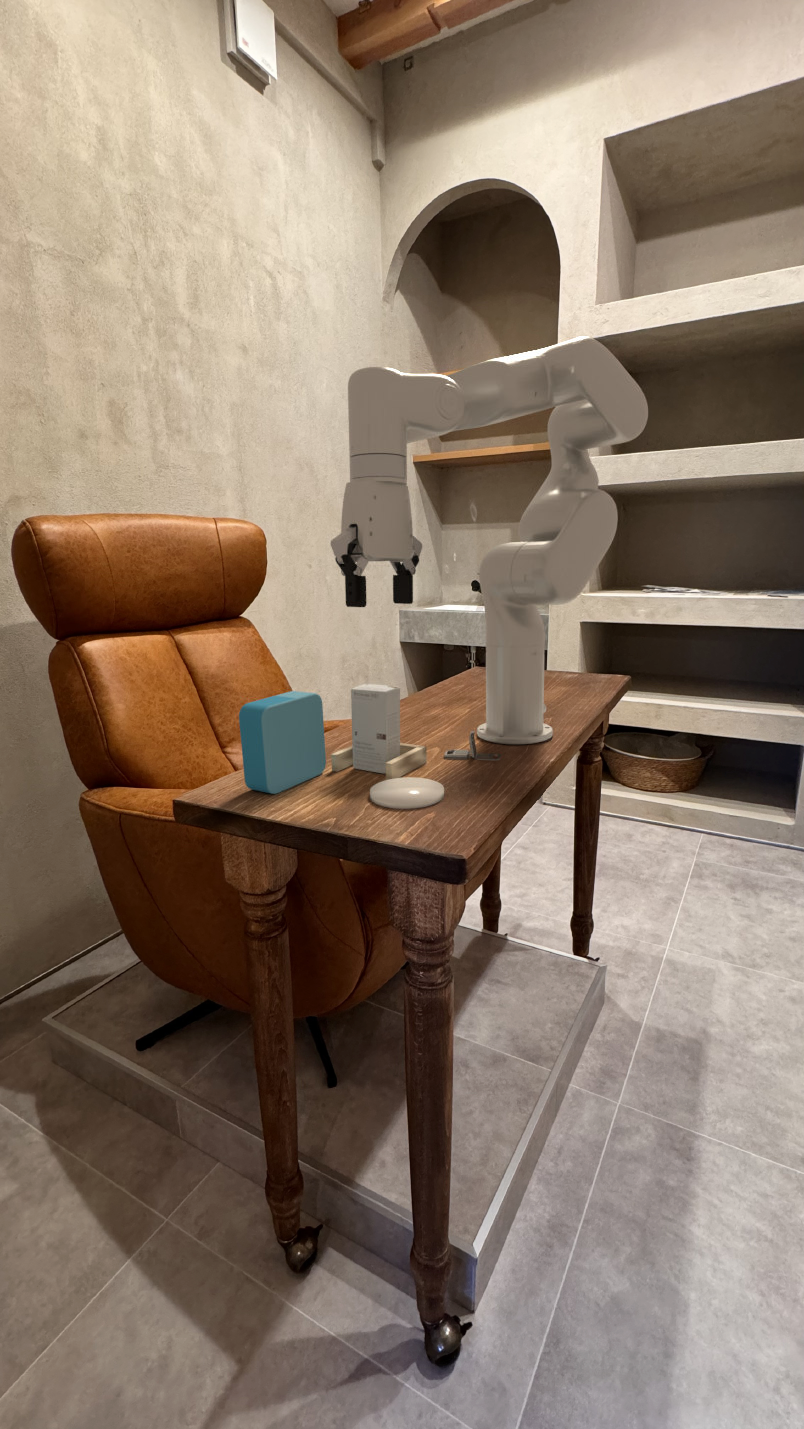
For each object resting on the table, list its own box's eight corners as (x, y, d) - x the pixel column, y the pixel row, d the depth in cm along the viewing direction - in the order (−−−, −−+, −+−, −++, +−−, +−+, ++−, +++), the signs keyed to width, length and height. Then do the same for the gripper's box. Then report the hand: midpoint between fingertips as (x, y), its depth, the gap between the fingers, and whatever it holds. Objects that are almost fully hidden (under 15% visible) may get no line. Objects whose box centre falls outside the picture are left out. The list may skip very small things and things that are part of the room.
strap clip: (443, 761, 102) (442, 734, 101) (446, 755, 105) (445, 728, 104) (499, 762, 100) (499, 735, 99) (500, 756, 103) (500, 729, 102)
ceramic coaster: (395, 779, 93) (395, 773, 93) (457, 789, 88) (457, 783, 88) (355, 801, 85) (355, 795, 85) (420, 814, 80) (419, 807, 80)
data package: (303, 767, 100) (298, 688, 97) (327, 772, 98) (322, 691, 95) (244, 792, 90) (236, 705, 87) (269, 797, 88) (261, 708, 85)
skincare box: (351, 769, 98) (347, 688, 95) (368, 761, 102) (364, 682, 99) (387, 774, 95) (384, 691, 92) (403, 766, 99) (400, 685, 96)
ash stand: (369, 753, 106) (368, 738, 105) (426, 762, 100) (426, 746, 100) (332, 770, 98) (330, 754, 97) (392, 781, 92) (391, 763, 92)
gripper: (398, 482, 97) (399, 601, 100) (310, 469, 84) (315, 607, 87) (440, 477, 92) (440, 603, 96) (353, 462, 79) (357, 609, 83)
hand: (380, 605), depth 92 cm, fingers open, 9 cm apart
